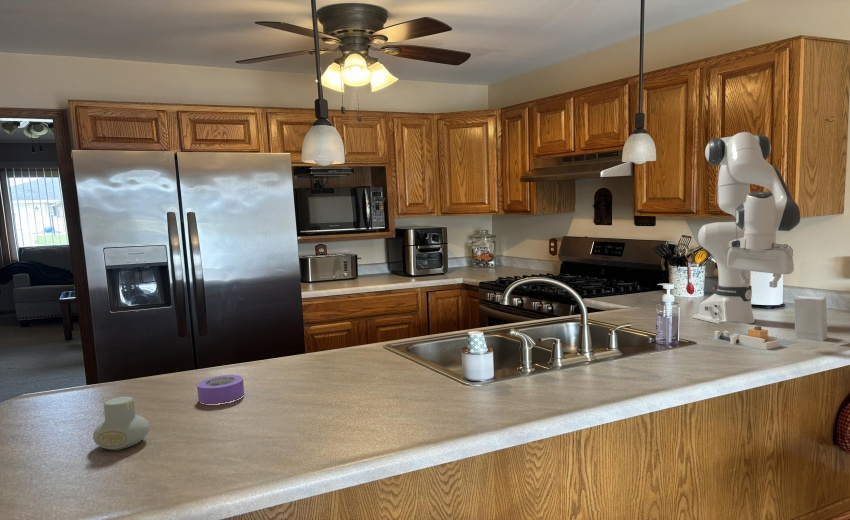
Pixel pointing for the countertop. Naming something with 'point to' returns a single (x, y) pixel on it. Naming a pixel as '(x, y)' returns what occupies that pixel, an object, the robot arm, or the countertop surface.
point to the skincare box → (810, 317)
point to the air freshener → (120, 425)
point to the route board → (749, 340)
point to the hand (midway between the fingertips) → (758, 285)
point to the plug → (758, 333)
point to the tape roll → (220, 389)
